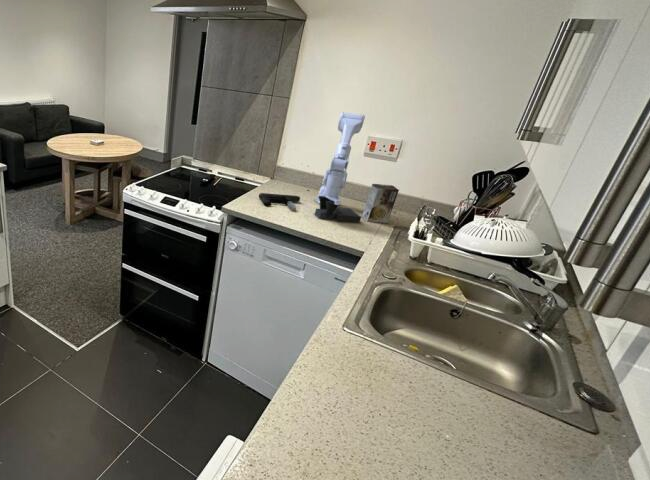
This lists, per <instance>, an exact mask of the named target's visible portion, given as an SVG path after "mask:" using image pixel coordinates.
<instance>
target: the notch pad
mask: <svg viewBox="0 0 650 480" xmlns="http://www.w3.org/2000/svg"><path fill="white" fill-rule="evenodd" d="M335 211H338V212H339V213H336V216H335V219H334V221H336V222H337V223H349V224H351V223H352V224H353V223H355V224H360V222H361V220H362V215H360V214H358V213H357V212H355V211H354V210H353V209H351V208H348V207H339V208H336V209H335Z"/></svg>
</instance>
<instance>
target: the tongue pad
mask: <svg viewBox="0 0 650 480" xmlns="http://www.w3.org/2000/svg"><path fill="white" fill-rule="evenodd" d="M336 213H339V212H338V211H334V212H333V214H332V215H331V217H326V209H320V208H315V210H314V215H315V217H317V218H318V219H319V220H334V221H335V216H336Z"/></svg>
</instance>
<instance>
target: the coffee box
mask: <svg viewBox="0 0 650 480" xmlns="http://www.w3.org/2000/svg"><path fill="white" fill-rule="evenodd" d="M399 192H400V189H399V188H397V187H396V186H394V185H391V184H382V183H381V184H379V183H372V184H371V187H370V191H369V193H368V196H367V200H366V203H365V206H364V209H363V212H362V215H361V218H363V219H364V220H365V221H366V222H370V223H381V224H382V223H383V224H388V223H389V221H390V218H391V214H392V212H393V210H394V206H395V203H396V201H397V197H398V194H399Z"/></svg>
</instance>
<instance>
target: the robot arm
mask: <svg viewBox="0 0 650 480" xmlns="http://www.w3.org/2000/svg"><path fill="white" fill-rule="evenodd" d="M365 118H366V116H365V114H358V113H350V112H344V111H342V112H341V114H340V116H339V121H338V124H337V131H339V132H341V138H340V142H339V144H337V145H336V148H335V151H334V155H333V157H332V159H331V162H330V165H329V167H328V168H327V169H326V170H325V173H324V176H323V179H322V183H321V184H322V186H321V187H320V188H319V192H318V195H317V198H316V199H315V202H316V203H318V205H319V209H326V217H331V215H332V214H333V212H334V211H335V209H336V208H340V206H341V202H342V200H341V199H340V198H339V195H340V192H341V190H343V189H344V188H345V186H346V182H347V178H348V172H347V171H348V170H347V169H348V167H349V162H350V161H349V160H350V155H351V150H352V146H351V141H352V138H353V137H354V135H355V134H359V133H360V132H361V130H362V128H363V125H364V122H365Z"/></svg>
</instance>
